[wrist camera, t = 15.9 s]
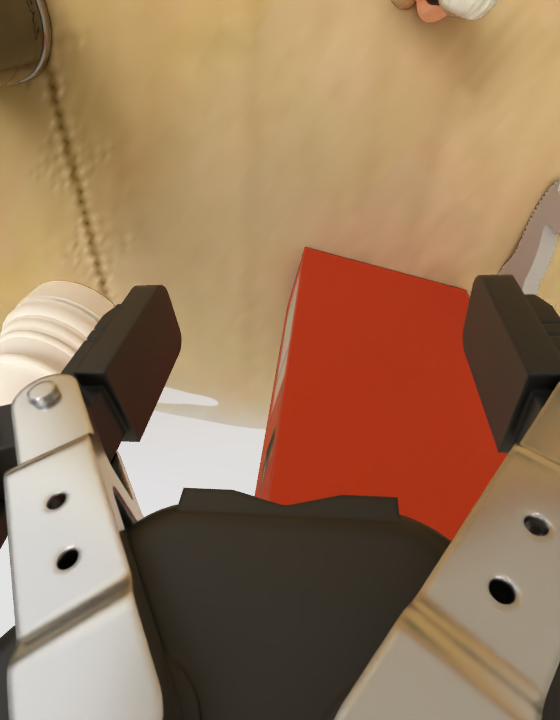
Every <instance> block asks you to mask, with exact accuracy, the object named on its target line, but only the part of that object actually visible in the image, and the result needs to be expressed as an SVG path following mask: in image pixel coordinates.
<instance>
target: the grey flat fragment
mask: <svg viewBox="0 0 560 720" xmlns="http://www.w3.org/2000/svg"><path fill="white" fill-rule="evenodd" d="M548 190H549V191H548V192H545V196H542V199H543V200H540V201H539V205H537V206H536V207H535V208H537V209H536V210H535V209H534V210H533V211H534V213H532V214H531V217H532V218H531V217H530V218H529V219H530V221H528V222H527V223H528V225H526V227H525V228H526V230H525V231H523V233H524V235H522V237H523V238H521V239H520V240H521V241H520V242H519V243H518V244H520V245H518V246H517V247H518V249H516V250H515V252H516V253H514V254H513V255H512V257H511V259H510V260H509V261H508V262H507V263H506V264H504V265H503V266H502V270H501V271H499V273H498V275H503V274H511V275H513V276H514V278H515V279H516V281H517V283H518V284H519V286H520V288H521V289H522V291H523V293H524V294H535V295H537V292H538V289H539V285H540V282H541V280H542V279H543V277H544V275H545V273H546V271H547V269H548V266H549V264H550V262H551V259H552V256H553V253H554V250H555V247H556V243H557V239H558V235H560V180H557V182H554V185H551V187H550V188H549V189H548Z"/></svg>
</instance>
